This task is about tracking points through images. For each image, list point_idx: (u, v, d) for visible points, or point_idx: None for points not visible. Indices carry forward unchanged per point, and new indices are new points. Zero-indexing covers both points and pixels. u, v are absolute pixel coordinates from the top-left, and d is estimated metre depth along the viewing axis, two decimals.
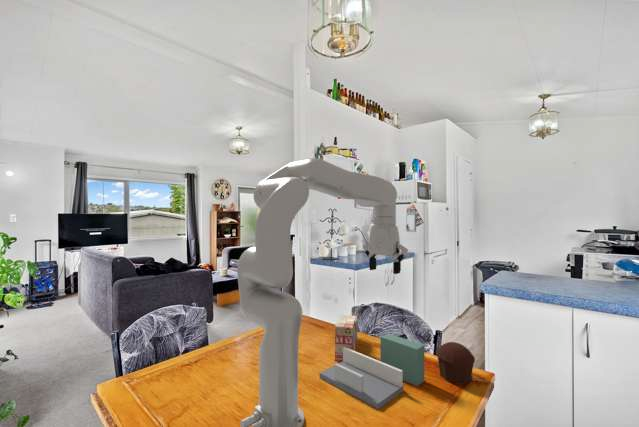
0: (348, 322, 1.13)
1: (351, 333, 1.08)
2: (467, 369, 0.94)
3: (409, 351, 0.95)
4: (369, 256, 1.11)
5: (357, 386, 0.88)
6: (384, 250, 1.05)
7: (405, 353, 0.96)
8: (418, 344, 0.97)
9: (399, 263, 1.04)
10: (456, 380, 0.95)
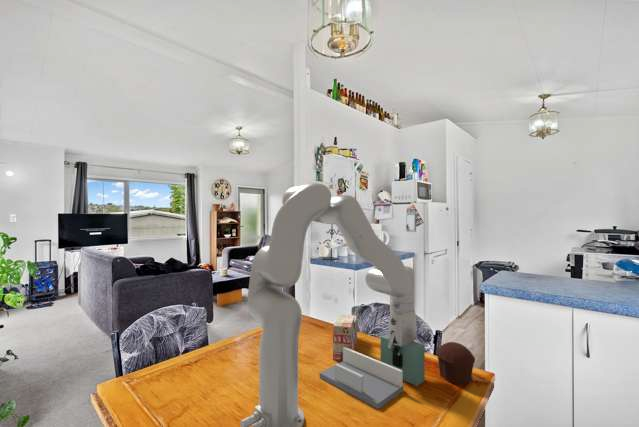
0: (347, 321, 1.13)
1: (349, 332, 1.09)
2: (467, 369, 0.94)
3: (410, 351, 0.95)
4: (400, 352, 0.96)
5: (357, 386, 0.88)
6: (413, 336, 0.99)
7: (406, 353, 0.96)
8: (418, 344, 0.97)
9: None
10: (456, 380, 0.95)
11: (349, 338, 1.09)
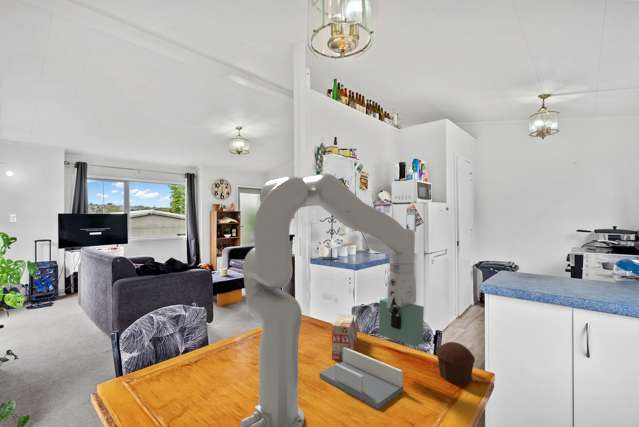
0: (346, 321, 1.14)
1: (348, 332, 1.09)
2: (467, 369, 0.94)
3: (409, 311, 0.95)
4: (399, 314, 0.96)
5: (357, 386, 0.88)
6: (412, 299, 0.99)
7: (404, 314, 0.96)
8: (417, 306, 0.97)
9: None
10: (456, 380, 0.95)
11: (348, 338, 1.09)
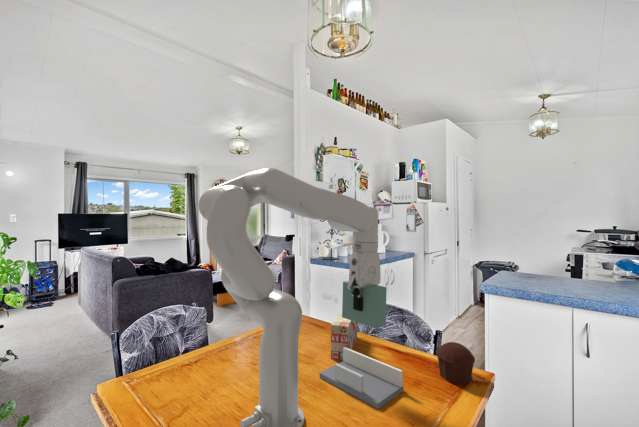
0: (345, 321, 1.14)
1: (347, 332, 1.09)
2: (467, 369, 0.94)
3: (370, 292, 0.90)
4: (360, 295, 0.92)
5: (357, 386, 0.88)
6: (375, 280, 0.94)
7: (366, 295, 0.91)
8: (380, 286, 0.92)
9: None
10: (456, 380, 0.95)
11: (347, 337, 1.09)
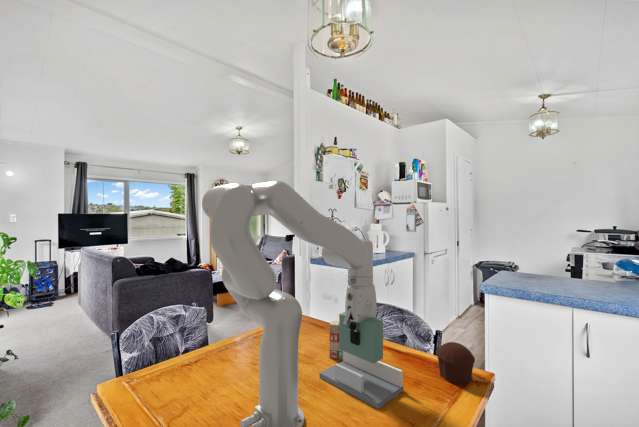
0: None
1: None
2: (467, 369, 0.94)
3: (366, 327, 0.90)
4: (357, 329, 0.91)
5: (357, 386, 0.88)
6: (371, 312, 0.94)
7: (363, 329, 0.91)
8: (376, 320, 0.92)
9: None
10: (456, 380, 0.95)
11: None
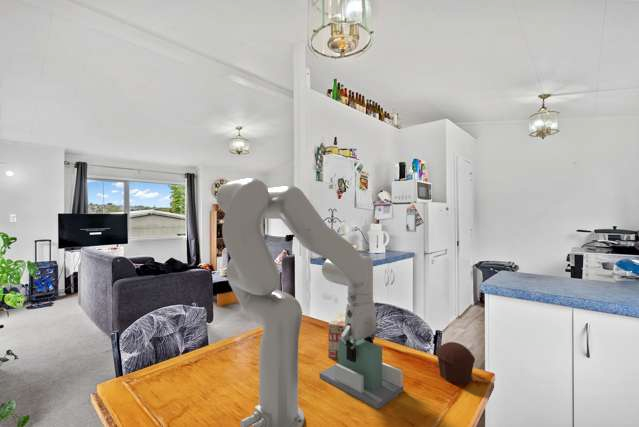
0: (343, 320, 1.15)
1: None
2: (467, 369, 0.94)
3: (366, 353, 0.90)
4: (353, 346, 0.90)
5: (357, 386, 0.88)
6: (371, 330, 0.94)
7: (362, 356, 0.91)
8: (376, 346, 0.92)
9: None
10: (456, 380, 0.95)
11: None
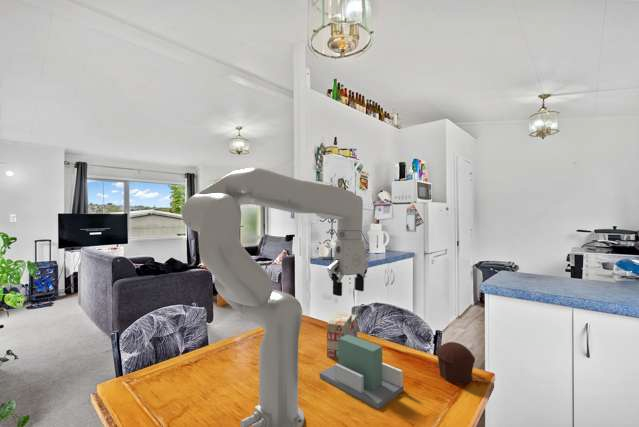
0: (342, 320, 1.15)
1: (342, 331, 1.11)
2: (467, 369, 0.94)
3: (366, 353, 0.90)
4: (339, 279, 0.90)
5: (357, 386, 0.88)
6: (360, 268, 0.94)
7: (362, 356, 0.91)
8: (376, 346, 0.92)
9: None
10: (456, 380, 0.95)
11: (342, 336, 1.11)
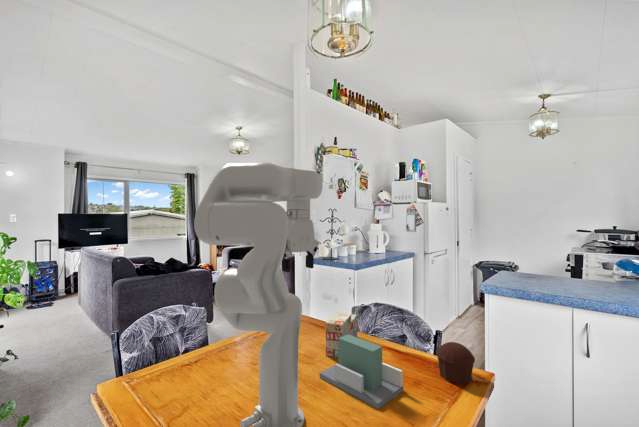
0: (341, 319, 1.16)
1: (341, 330, 1.11)
2: (467, 369, 0.94)
3: (366, 353, 0.90)
4: (287, 256, 0.95)
5: (357, 386, 0.88)
6: (308, 245, 0.99)
7: (362, 356, 0.91)
8: (376, 346, 0.92)
9: None
10: (456, 380, 0.95)
11: (341, 336, 1.11)
